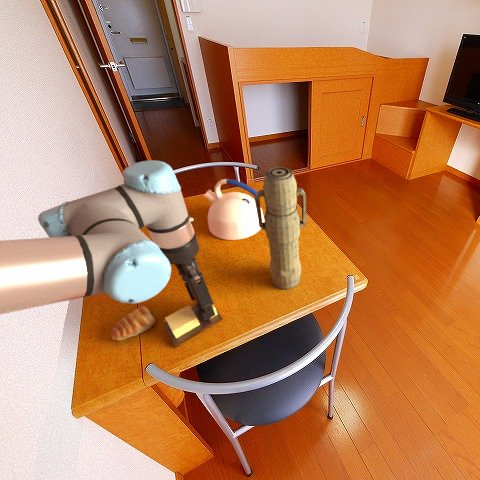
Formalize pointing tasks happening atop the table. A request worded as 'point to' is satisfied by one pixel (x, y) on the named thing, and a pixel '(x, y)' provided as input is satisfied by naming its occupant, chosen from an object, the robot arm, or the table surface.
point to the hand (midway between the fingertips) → (203, 306)
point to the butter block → (182, 321)
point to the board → (194, 331)
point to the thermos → (282, 225)
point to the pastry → (133, 324)
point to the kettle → (232, 212)
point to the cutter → (195, 298)
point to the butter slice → (214, 310)
